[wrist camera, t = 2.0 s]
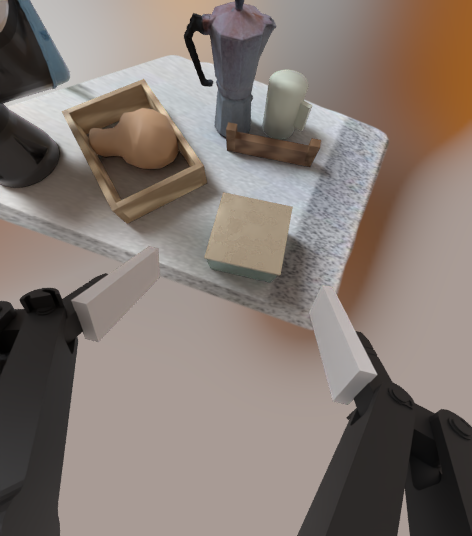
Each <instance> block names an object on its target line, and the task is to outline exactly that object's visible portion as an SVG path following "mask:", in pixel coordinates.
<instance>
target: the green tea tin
mask: <svg viewBox="0 0 472 536" xmlns="http://www.w3.org/2000/svg"><path fill="white" fill-rule="evenodd" d="M291 213H292V207H291V206H286V205H282V204H277V203H272V202H267V201H262V200H258V199H253V198H248V197H243V196H238V195H234V194H229V193H224V192H223V195H222V198H221V201H220V205H219V208H218V212H217V215H216V219H215V222H214V225H213V229H212V232H211V236H210V239H209V243H208V246H207V250H206V253H205V256H204V258H205V259H207V261H208V263H209V265H210V268H211V269H213V270H218V271H222V272H226V273H231V274H235V275H239V276H244V277H248V278H252V279H257V280H261V281H265V282H270V283H271V282H272V281H273V280H274V279H275V278H276V277H277V276H280V275H281V269H282V264H283V258H284V252H285V247H286V241H287V236H288V230H289V224H290V219H291Z"/></svg>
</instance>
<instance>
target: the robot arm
mask: <svg viewBox="0 0 472 536" xmlns="http://www.w3.org/2000/svg"><path fill="white" fill-rule="evenodd" d="M69 79H70V73H69V70H68V68H67V66H66V64H65V62H64V60H63V58H62V57H61V55H60V53H59V51H58V50H57V48H56V46H55V44H54V42H53V41H52V39H51V37H50V35H49V34H48V32H47V30H46V28H45V26H44V25H43V23H42V21H41V20H40V17H39V16H38V14H37V13H36V10H35V9H34V7H33V5H32V3H31V1H30V0H0V184H2V185H4V186H8V187H25V186H29V185H32V184H34V183H37V182H39V181H40V180H42V179H43V178H45V177H46V176H47V175H48V174H50V173H51V171H52V170H53V169H54V168H55V166H56V164H57V162H58V159H59V148H58V146H57V144H56V142H55V141H54V140H53V139H52V138H51V137H50V136H49V135H48V134H47V133H45V132H44V131H43V130H42V129H40V128H38V127H37V126H35V125H33V124H32V123H30V122H29V121H27V120H25V119H24V118H22V117H20V116H19V115H17V114H16V113H14V112H12V111H11V110H9V109H8V108H7V107H6V106H5V105H4V104H3V103H5V102H9V101H12V100H15V99H19V98H22V97H25V96H29V95H32V94H36V93H39V92H42V91H46V90H49V89H55V88H56V87H57V86H58V85H60V84H63V83H65V82H67V81H68V80H69ZM159 278H160V272H159V252H158V248H154V247H150V246H149V247H147V248H146V249H144V250H143V251H141V252H140V253H138V254H137V255H136V256H134V257H133V258H131V259H130V260H128V261H127V262H126V263H124V264H123V265H121V266H120V267H119V268H117V269H115V270H114V271H113V272H111V273H110V274H106V273H105V274H102V275H100V276H97V277H95V278H94V279H92V280H91V281H89V283H86V284H85V285H83V287H80V288H78V289H77V290H76V291H74V292H73V293H71V294H69V295H68V296H66V297H65V298H63V299H62V298H61V295H60V293H59V291H58V290H57V289H54V288H42V289H37V290H34V291H31V292H29V293H27V294H25V295H24V296H22V297H21V298H20V302H21V304H22V306H23V307H24V309H14V308H13V306H12V305H11V303H9V302H6V301H0V536H60V523H59V517H58V499H59V491H60V483H61V474H62V467H63V459H64V451H65V443H66V435H67V427H68V419H69V410H70V403H71V394H72V387H73V379H74V371H75V363H76V355H77V346H78V338H77V336H78V335H79V334H80V333H81V332H83V334H84V336H85V339H88V340H92V341H96V342H99V341H100V340H101V339H102V338H103V337H104V336H105V335H106V334H107V333H108V332H109V331H110V329H111V328H112V327H113V326H114V325H115V324H116V323H117V322H118V321H119V320H120V319H121V318H122V317H123V316H124V315H125V314H126V313H127V312H128V311H129V309H130V308H131V307H132V306H133V305H134V304H135V303H136V302H137V301H138V300H139V299H140V298H141V297H142V296H143V295H144V294H145V293H146V292H147V291H148V289H149V288H150V287H151V286H152V285H153V284H154V283H155V282H156V281H157V280H158V279H159ZM309 314H310V318H311V322H312V325H313V329H314V333H315V337H316V340H317V344H318V348H319V351H320V355H321V359H322V362H323V366H324V370H325V374H326V377H327V381H328V385H329V389H330V393H331V396H332V400H333V401H334V402H338V403H342V404H346V405H348V404H349V403H350V402H351V401H352V400H353V399H354V401H355V404H356V407H357V408H356V409H355V410H354V411H353V412H352V413H351V414H350V415H349V416H348V417H347V419H348V420H349V419H350V420H349V422H348V424H347V427H346V429H345V431H344V433H343V435H342V438H341V440H340V443H339V444H338V446H337V449H336V451H335V453H334V455H333V458H332V460H331V462H330V465H329V466H328V469H327V471H326V473H325V475H324V478H323V480H322V482H321V484H320V486H319V489H318V491H317V493H316V495H315V497H314V500H313V502H312V504H311V507H310V508H309V511H308V513H307V515H306V518H305V520H304V522H303V524H302V526H301V529H300V531H299V533H298V535H297V536H397V533H398V527H399V521H400V514H401V508H402V501H403V494H404V489H405V494H406V503H407V512H408V522H409V531H410V536H472V427H471V426H470V425H469V424H468V423H467V422H466V421H465V420H464V419H462V418H461V417H459V416H458V415H456V414H455V413H453V412H451V411H448V410H444V409H441V410H439V411H438V412H437V413H433V412H431V411H429V410H427V409H425V408H423V407H421V406H419V405H417V404H415V403H414V401H413V399H412V398H411V396H410V395H409V394H408V393H407V392H406V391H405V390H404V389H402V388H401V387H400V386H398V385H397V384H395V383H393V382H392V381H391V379H390V377H389V375H388V374H387V372H386V370H385V368H384V366H383V365H382V363H381V361H380V359H379V358H378V357H377V354H376V352H375V350H373V347H372V345H371V343H370V342H369V340H368V339H367V338H366V337H365V336H364V335H363V334H362V333H361V332H357V331H355V330H354V328H353V326H352V324H351V322H350V320H349V318H348V316H347V314H346V312H345V310H344V308H343V306H342V304H341V303H340V300H339V299H338V297H337V295H336V293H335V291H334V289H333V287H330V286H325V285H322V287H321V289H320V291H319V293H318V295H317V297H316V299H315V301H314V303H313V305H312V307H311V309H310V311H309Z"/></svg>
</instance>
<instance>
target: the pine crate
mask: <svg viewBox="0 0 472 536" xmlns="http://www.w3.org/2000/svg"><path fill="white" fill-rule="evenodd" d="M141 108H145V109H149V108H151V109H153V110H155V111H157V112H159V113H161V114H163V115H165V116H167V118H168V120H169V121H170V123H171V125H172V127H173V129H174V132H175V136H176V139H177V144H178V149H179V151H180V152H181V154H182V155H183V157H184V158H185V160H186V161H187V163H188V164H189V166H190V167H189V168H187V169H185V170H183V171H181V172H179V173H177V174H175V175H172V176H170V177H168V178H166V179H164V180H162V181H160V182H158V183H156V184H154V185H152V186H150V187H148V188H146V189H144V190H142V191H140V192H137V193H135V194H133V195H131V196H129V197H127V198H125V199H123V200H121V199H120V197H119V195H118V193H117V191H116V189H115V187H114V186H113V184H112V182H111V180H110V178H109V176H108V174H107V172H106V170H105V169H104V167H103V165H102V163H101V161H100V159H99V157H98V155H97V154H96V153H95V152H94V151H93V149H92V148H91V146H90V145H89V138H88V136H87V134H89V132H90V130H91V129H92V128H103V127H106V126H108V125H111V124H113V123H115V122H118V121H119V119H120V117H121V116H122V115H123V113H127V112H134V111H136V110H139V109H141ZM62 113H63V115H64V117H65V119H66V121H67V123H68V125H69V127H70V129H71V131H72V133H73V135H74V137H75V139H76V141H77V143H78V144H79V146H80V148H81V150H82V152H83V154H84V156H85V158H86V160H87V162H88V164H89V166H90V168H91V170H92V172H93V174H94V176H95V178H96V180H97V182H98V184H99V186H100V188H101V190H102V192H103V194H104V196H105V198H106V200H107V202H108V203H109V205H110V207H111V209H112V211H113V212H114V213H115V214H116V215H118V216H119V217H120V218H121V219H122V220H123V221H124V222H126V223H127V224H128V223H130V222H132V221H134V220H136V219H138V218H140V217H142V216H144V215H145V214H147V213H149V212H151V211H153V210H155V209H157V208H159V207H161V206H163V205H165V204H167V203H169V202H171V201H173V200H175V199H177V198H179V197H181V196H183V195H185V194H187V193H189V192H191V191H193V190H195V189H197V188H199V187H201V186H203V185H205V184H207V180H206V175H205V170H204V166H203V164H202V163H201V161H200V160H199V158H198V157H197V155H196V154H195V152H194V151H193V150H192V148H191V147H190V145H189V144H188V142H187V141H186V139H185V138H184V137H183V135H182V134H181V132H180V131H179V129H178V128H177V126H176V125H175V123H174V122H173V121H172V119H171V118H170V116H169V115H168V113H167V112H166V110H165V109H164V107H163V106H162V105H161V103H160V102H159V100H158V99H157V97H156V96H155V94H154V93H153V92H152V90H151V89H150V87H149V86H148V84H147V83H146V81H145V80H144V79H143V80H140V81H138V82H135V83H132V84H130V85H127V86H125V87H122V88H120V89H117V90H115V91H112V92H110V93H107V94H105V95H102V96H100V97H97V98H95V99H92V100H89V101H87V102H84V103H82V104H79V105H77V106H74V107H72V108H69V109H67V110H64V111H62Z"/></svg>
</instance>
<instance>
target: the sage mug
mask: <svg viewBox="0 0 472 536" xmlns="http://www.w3.org/2000/svg"><path fill="white" fill-rule="evenodd" d="M307 89H308V81H307V79H306V78H305V77H304V76H303V75H302V74H301V73H299V72H297V71H293V70H280V71H277V72H275V73H274V74H273V75H272V76H271V77H270V79H269V85H268V92H267V98H266V105H265V112H264V118H263V125H262V127H263V131H264V132H265V134H266V135H267V136H269V137H271V138H273V139H278V140H281V139H286V138H288V137H290V136H291V135H292V134H293V132H294V129H295V128H296V129H298V130H300V131H302V130H303V129H304V127H305V124H306V121H307V119H308V116H309V113H310V111H311V108H312V105H310V104H309V103H307V102H305V101H304V98H305V95H306V92H307Z"/></svg>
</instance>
